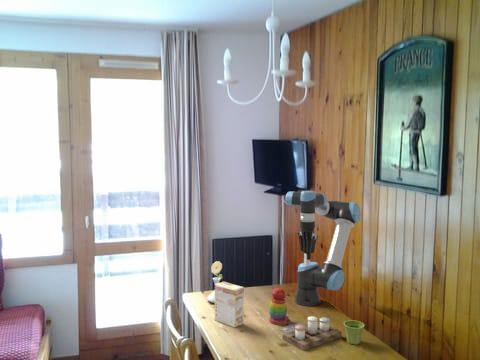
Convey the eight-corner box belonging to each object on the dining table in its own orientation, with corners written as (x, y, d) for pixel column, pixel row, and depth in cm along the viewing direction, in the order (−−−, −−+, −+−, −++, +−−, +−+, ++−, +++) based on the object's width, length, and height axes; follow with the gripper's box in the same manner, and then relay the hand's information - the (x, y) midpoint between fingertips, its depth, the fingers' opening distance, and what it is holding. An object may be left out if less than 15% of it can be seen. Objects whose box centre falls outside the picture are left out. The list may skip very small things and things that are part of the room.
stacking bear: (287, 326, 227) (287, 292, 226) (267, 324, 229) (267, 290, 228) (289, 318, 237) (289, 285, 236) (270, 316, 239) (270, 284, 238)
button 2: (324, 330, 221) (324, 316, 220) (331, 333, 217) (331, 319, 216) (317, 332, 218) (317, 318, 217) (324, 335, 214) (324, 322, 213)
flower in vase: (204, 299, 266) (204, 258, 264) (222, 297, 270) (221, 256, 268) (212, 306, 254) (212, 263, 252) (230, 303, 258) (230, 261, 257)
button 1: (300, 337, 211) (300, 324, 211) (307, 341, 208) (307, 327, 207) (292, 340, 209) (292, 326, 208) (299, 344, 205) (299, 329, 204)
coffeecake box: (244, 324, 230) (244, 287, 228) (234, 328, 224) (234, 290, 223) (223, 316, 240) (223, 280, 238) (214, 320, 235) (214, 283, 233)
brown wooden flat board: (320, 327, 226) (320, 322, 225) (341, 336, 214) (341, 331, 214) (282, 339, 211) (282, 334, 211) (303, 350, 200) (303, 345, 200)
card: (299, 323, 231) (299, 322, 231) (307, 327, 226) (307, 325, 226) (278, 329, 223) (278, 328, 223) (286, 333, 218) (286, 332, 218)
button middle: (312, 329, 216) (312, 315, 215) (319, 332, 212) (319, 318, 211) (305, 331, 213) (305, 317, 213) (312, 335, 209) (312, 320, 209)
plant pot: (352, 348, 202) (353, 329, 202) (339, 340, 211) (339, 322, 210) (368, 343, 207) (368, 325, 206) (354, 336, 215) (354, 318, 214)
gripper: (293, 219, 234) (293, 263, 236) (311, 223, 223) (310, 269, 225) (304, 218, 238) (303, 261, 240) (321, 221, 228) (321, 267, 229)
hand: (306, 265), depth 233 cm, fingers closed
